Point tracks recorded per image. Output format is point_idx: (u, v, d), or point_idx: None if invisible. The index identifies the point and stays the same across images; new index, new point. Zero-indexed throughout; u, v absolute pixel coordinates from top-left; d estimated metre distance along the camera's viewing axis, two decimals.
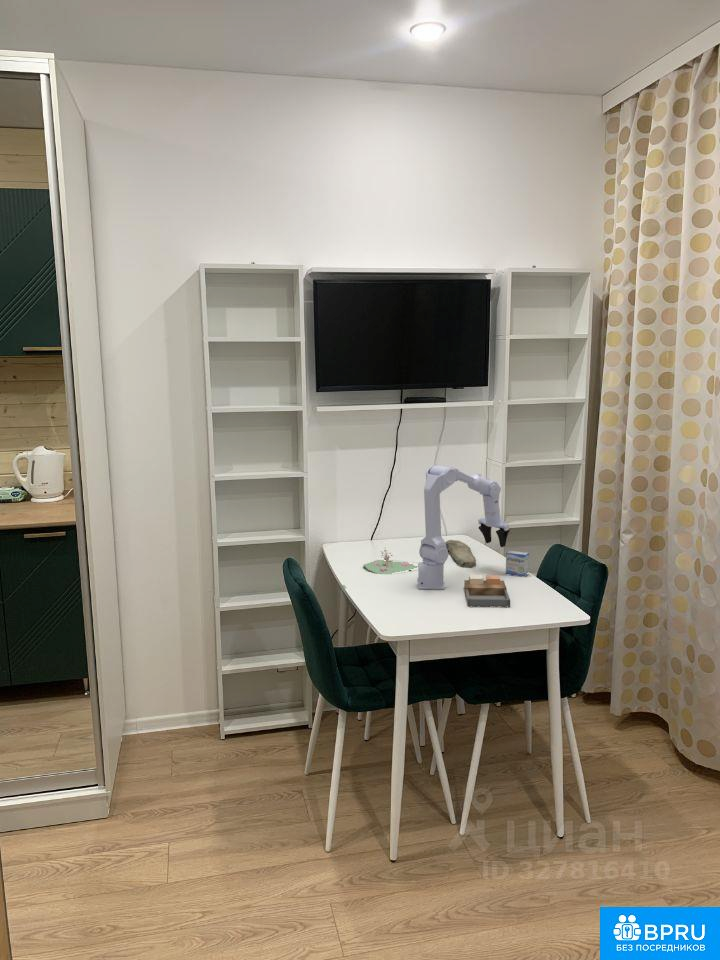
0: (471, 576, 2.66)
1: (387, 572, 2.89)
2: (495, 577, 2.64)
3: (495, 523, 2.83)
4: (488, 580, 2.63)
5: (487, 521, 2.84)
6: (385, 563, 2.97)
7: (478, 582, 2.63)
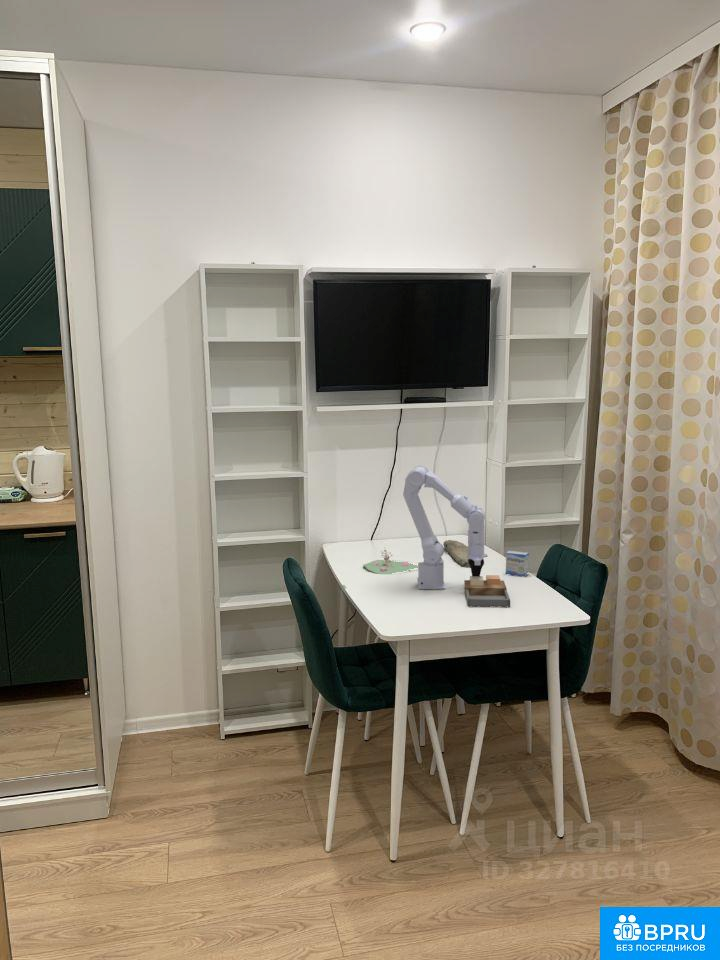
0: (471, 577, 2.64)
1: (387, 572, 2.89)
2: (495, 577, 2.64)
3: (472, 555, 2.63)
4: (488, 580, 2.63)
5: (468, 551, 2.66)
6: (385, 563, 2.97)
7: (479, 583, 2.62)
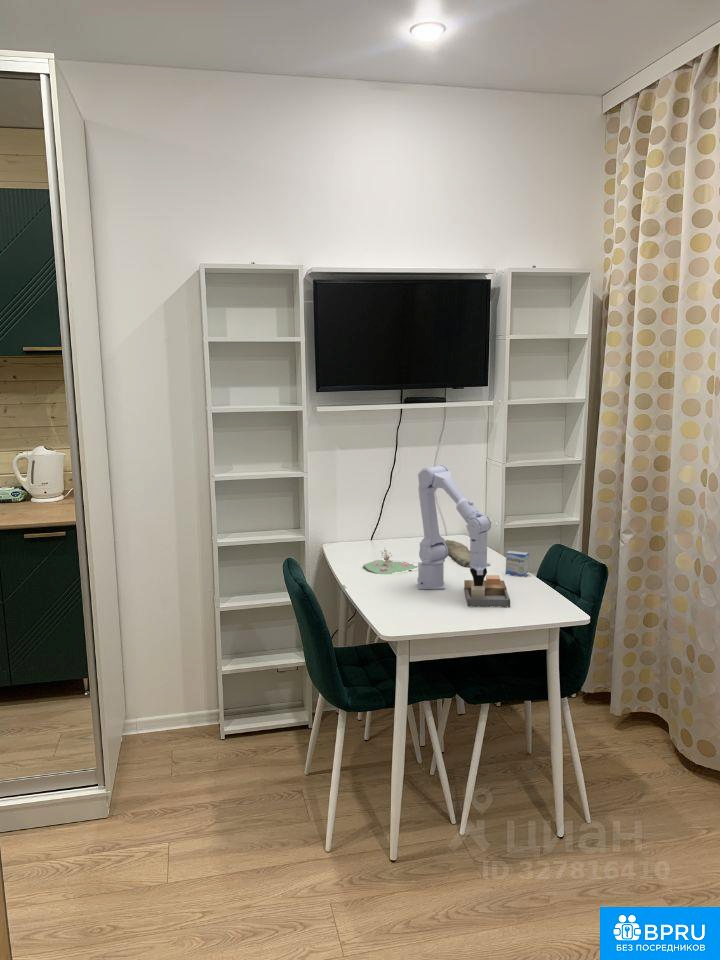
0: (473, 593, 2.54)
1: (387, 572, 2.89)
2: (495, 577, 2.64)
3: (474, 564, 2.52)
4: (488, 580, 2.63)
5: (470, 560, 2.55)
6: (385, 563, 2.97)
7: None
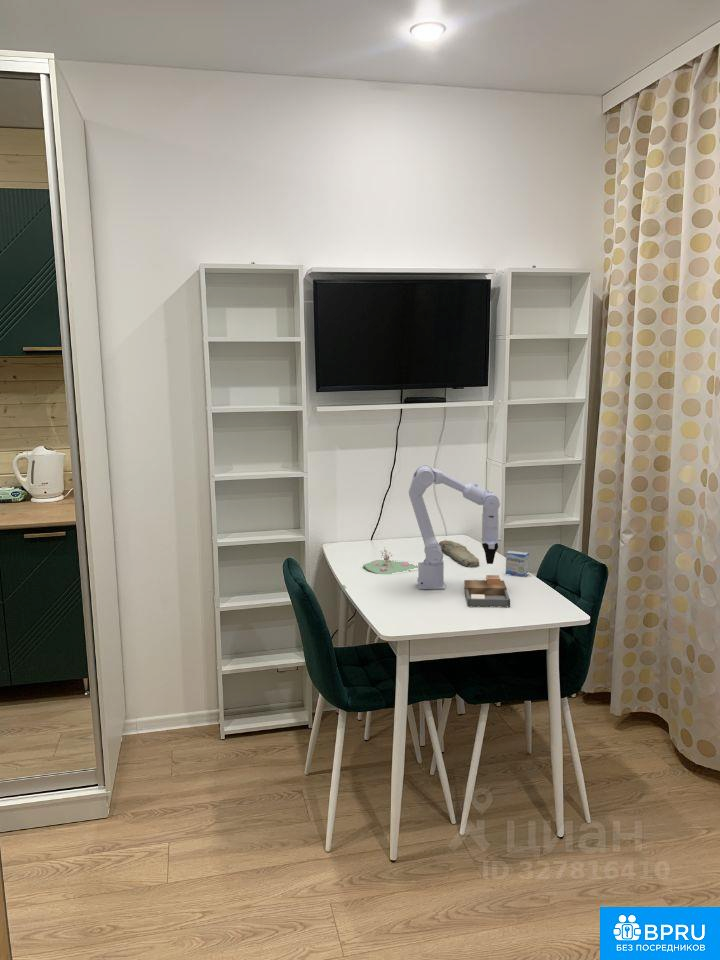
0: None
1: (387, 572, 2.89)
2: (495, 577, 2.64)
3: (486, 539, 2.66)
4: (488, 580, 2.63)
5: (482, 535, 2.68)
6: (385, 563, 2.97)
7: None
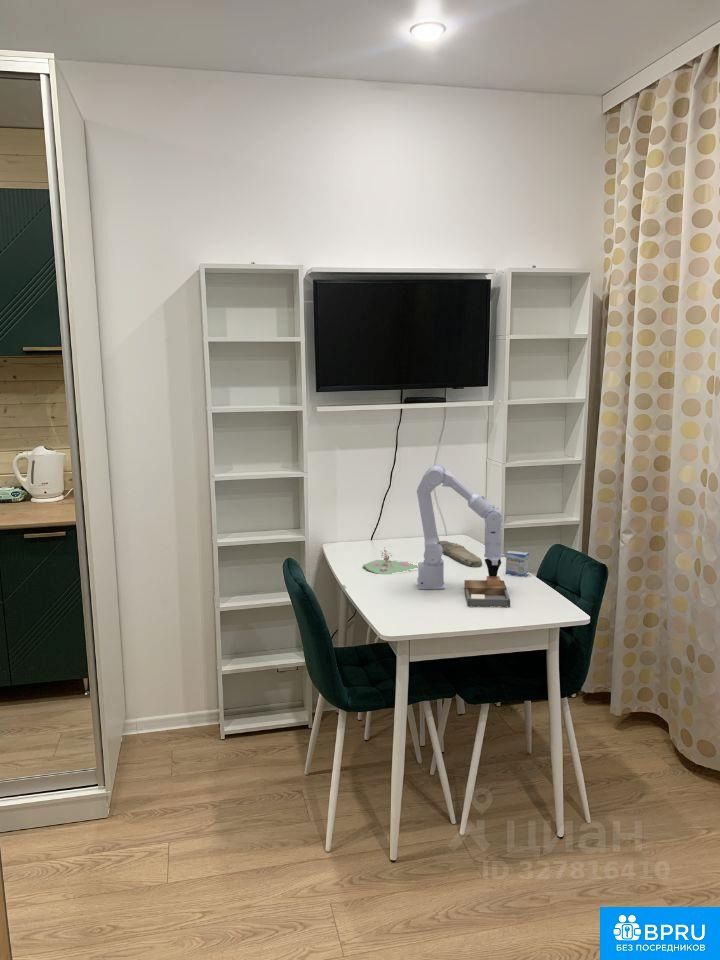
0: None
1: (387, 572, 2.89)
2: (495, 578, 2.63)
3: (489, 555, 2.63)
4: (488, 581, 2.62)
5: (485, 551, 2.66)
6: (385, 563, 2.97)
7: None
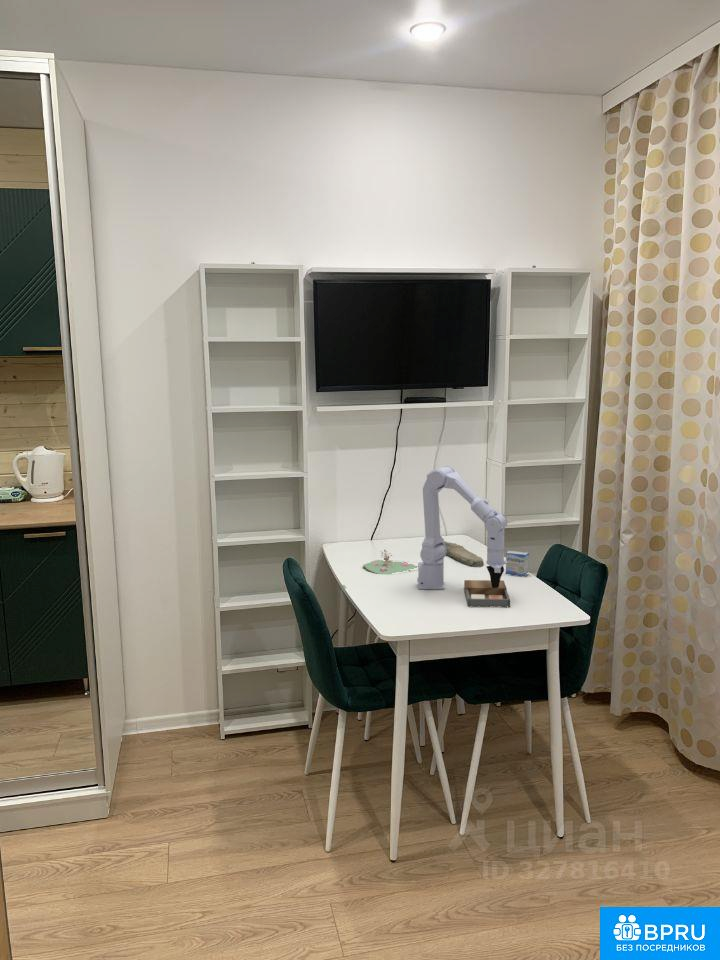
0: None
1: (387, 572, 2.89)
2: None
3: (492, 562, 2.54)
4: None
5: (487, 558, 2.57)
6: (385, 563, 2.97)
7: None
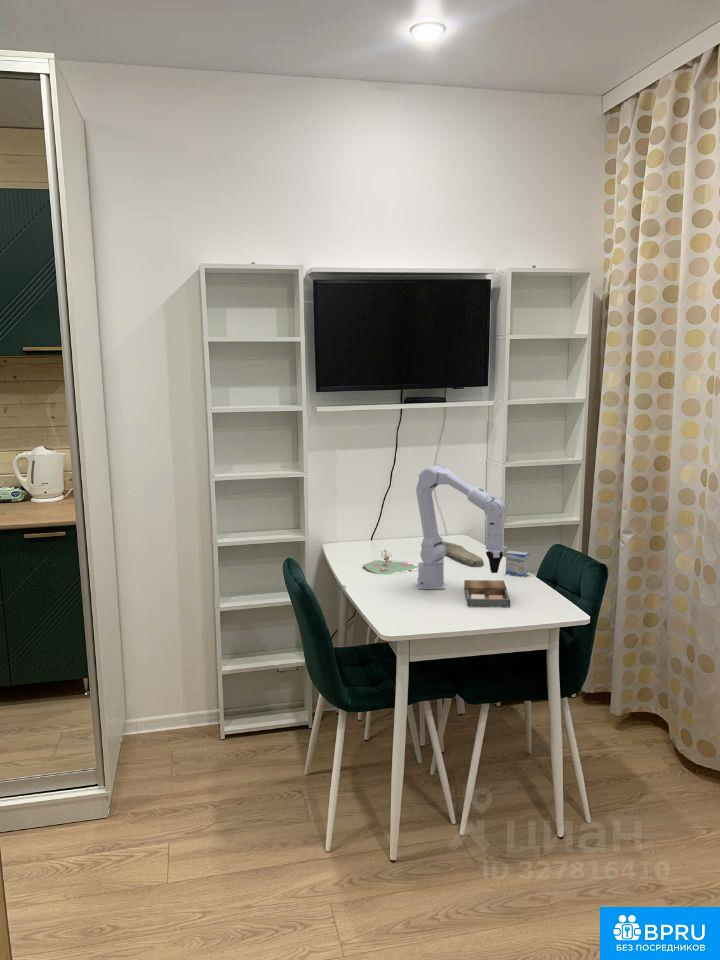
0: None
1: (387, 572, 2.89)
2: None
3: (491, 547, 2.54)
4: None
5: (486, 543, 2.57)
6: (385, 563, 2.97)
7: None
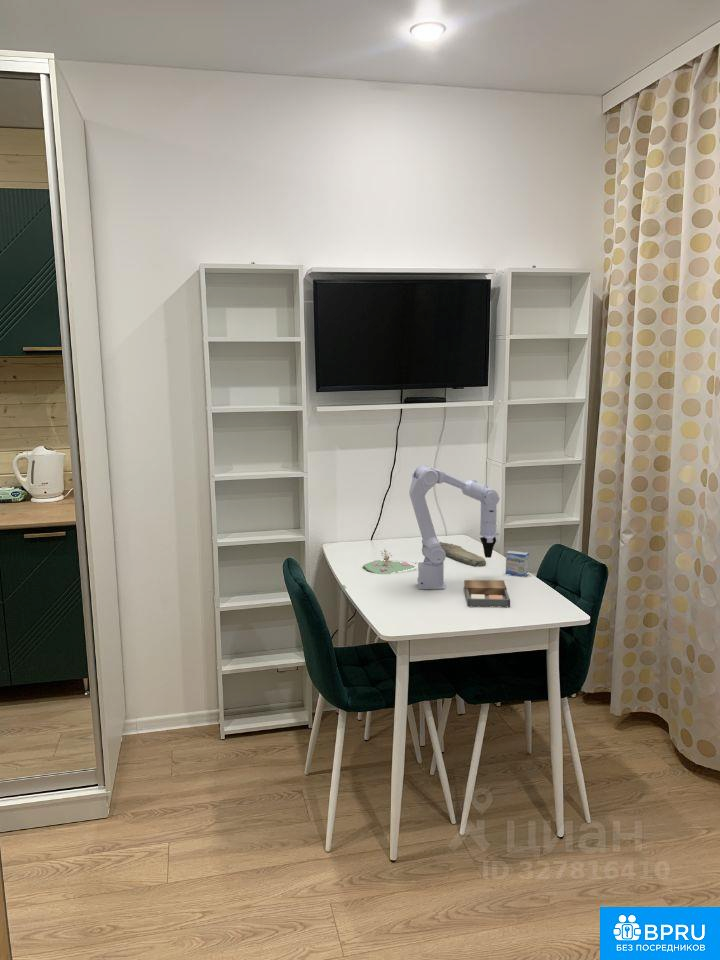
0: None
1: (387, 572, 2.89)
2: None
3: (485, 533, 2.71)
4: None
5: (480, 529, 2.73)
6: (385, 563, 2.97)
7: None
